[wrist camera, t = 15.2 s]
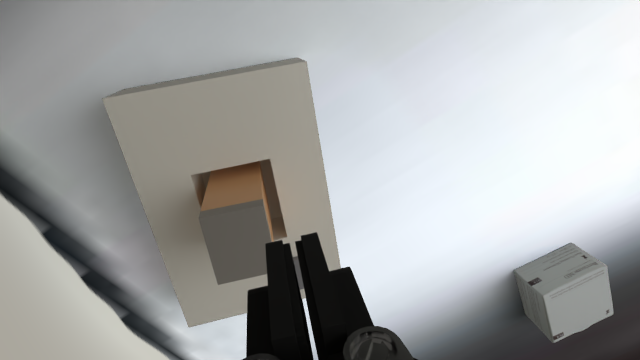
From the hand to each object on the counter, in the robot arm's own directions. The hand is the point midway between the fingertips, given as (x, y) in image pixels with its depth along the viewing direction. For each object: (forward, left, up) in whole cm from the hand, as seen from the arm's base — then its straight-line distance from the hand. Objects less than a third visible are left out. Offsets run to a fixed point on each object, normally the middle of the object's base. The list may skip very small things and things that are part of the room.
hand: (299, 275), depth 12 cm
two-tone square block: (+5, -3, -22) cm, 22 cm away
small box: (+25, +29, -23) cm, 45 cm away
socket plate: (+5, -3, -23) cm, 23 cm away
